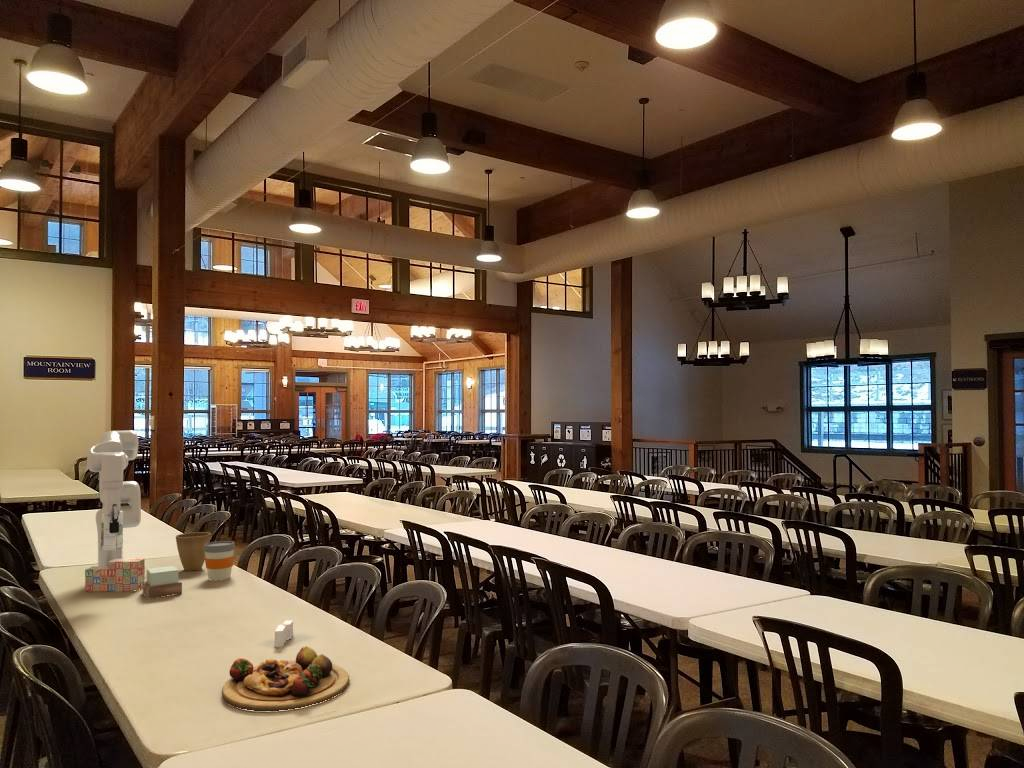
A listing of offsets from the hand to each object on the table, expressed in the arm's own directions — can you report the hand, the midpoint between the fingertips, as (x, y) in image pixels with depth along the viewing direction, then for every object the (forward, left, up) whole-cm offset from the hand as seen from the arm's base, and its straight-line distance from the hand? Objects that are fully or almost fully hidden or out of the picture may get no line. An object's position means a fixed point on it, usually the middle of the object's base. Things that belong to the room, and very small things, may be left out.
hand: (112, 531), depth 288 cm
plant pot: (-40, +40, -27) cm, 63 cm away
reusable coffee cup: (-13, +44, -27) cm, 53 cm away
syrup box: (0, 0, -7) cm, 7 cm away
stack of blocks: (-20, +4, -27) cm, 34 cm away
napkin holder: (+92, +34, -28) cm, 102 cm away
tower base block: (0, +18, -27) cm, 33 cm away
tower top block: (0, +18, -22) cm, 29 cm away
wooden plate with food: (+132, +19, -28) cm, 136 cm away
